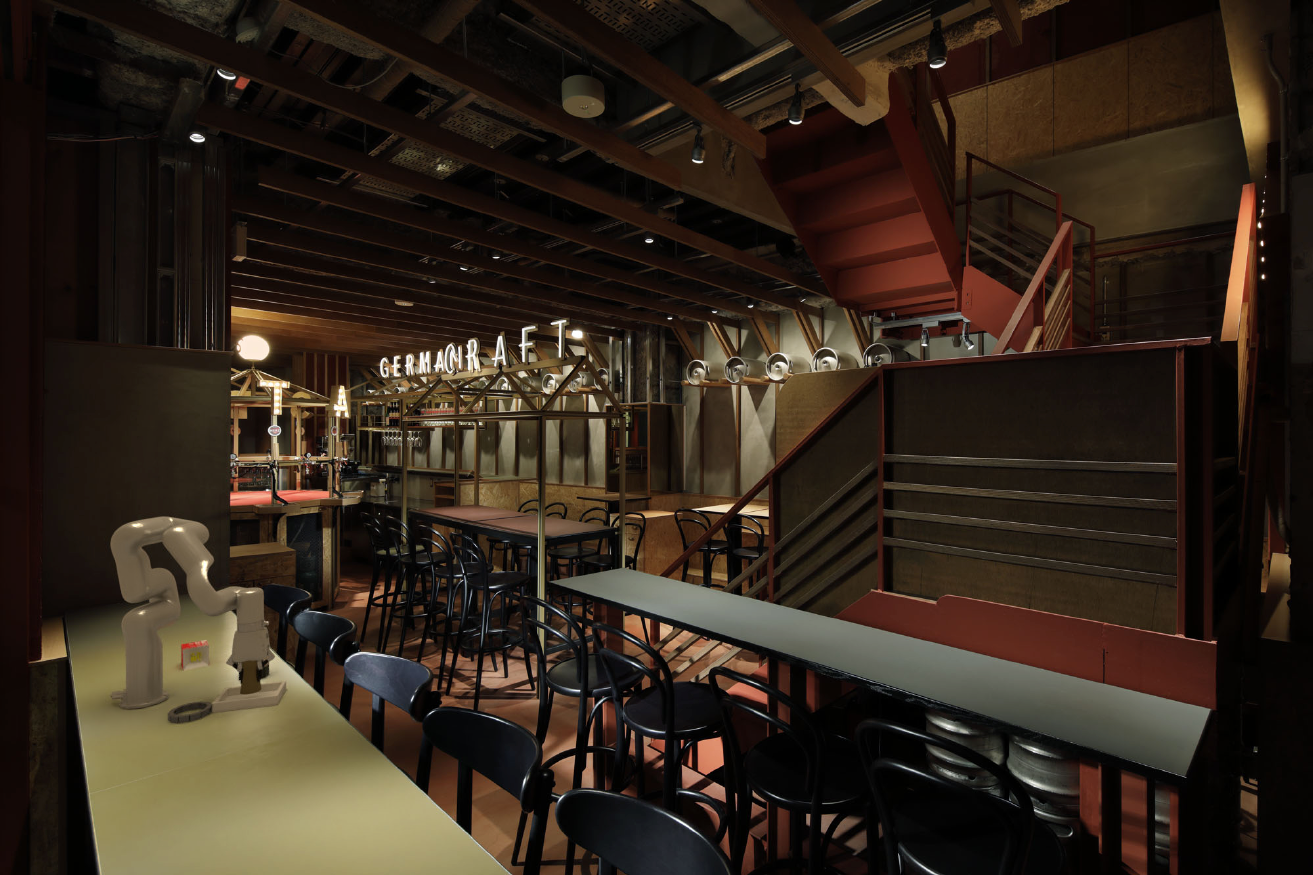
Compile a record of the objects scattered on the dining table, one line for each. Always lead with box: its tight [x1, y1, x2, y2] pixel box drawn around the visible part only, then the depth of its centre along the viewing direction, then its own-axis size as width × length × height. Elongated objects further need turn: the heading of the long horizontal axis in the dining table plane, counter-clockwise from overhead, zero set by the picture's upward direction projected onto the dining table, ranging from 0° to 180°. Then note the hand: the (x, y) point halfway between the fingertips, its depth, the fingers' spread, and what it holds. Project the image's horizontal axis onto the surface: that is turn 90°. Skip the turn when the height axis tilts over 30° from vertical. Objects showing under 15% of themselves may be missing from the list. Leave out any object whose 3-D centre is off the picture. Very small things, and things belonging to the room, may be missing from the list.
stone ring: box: [167, 700, 213, 724], centre depth 198 cm, size 11×11×2 cm
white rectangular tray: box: [211, 680, 287, 714], centre depth 208 cm, size 18×13×3 cm
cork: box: [240, 661, 262, 695], centre depth 208 cm, size 6×6×11 cm
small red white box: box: [180, 639, 210, 671], centre depth 240 cm, size 8×8×8 cm
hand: (251, 680), depth 208 cm, fingers closed on cork, 3 cm apart
